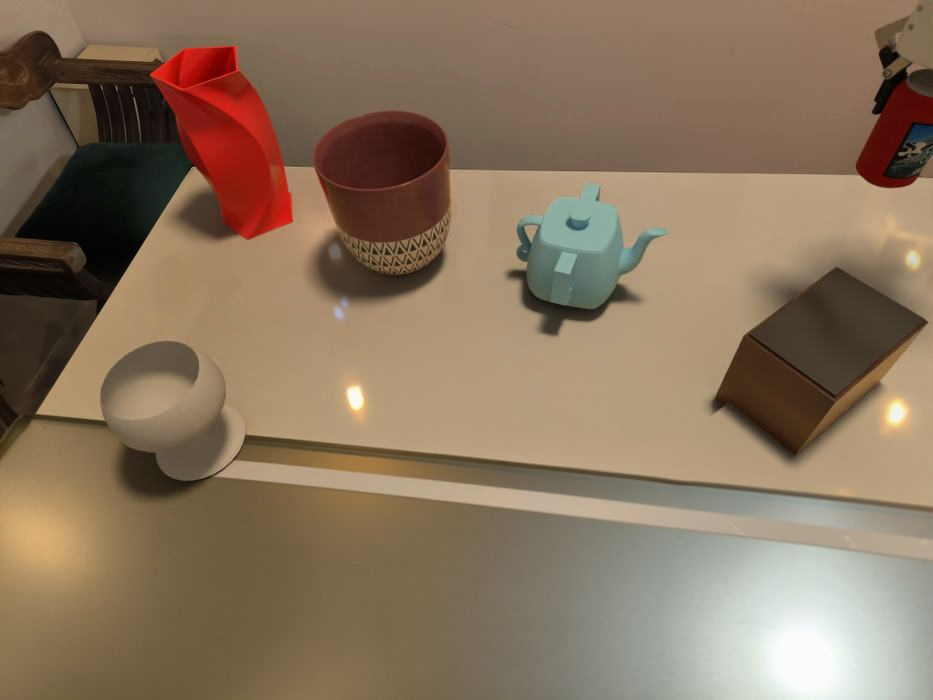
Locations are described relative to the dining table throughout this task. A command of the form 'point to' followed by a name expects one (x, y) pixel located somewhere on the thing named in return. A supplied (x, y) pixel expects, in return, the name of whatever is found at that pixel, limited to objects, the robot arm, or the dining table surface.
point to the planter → (388, 188)
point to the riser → (817, 357)
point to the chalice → (173, 409)
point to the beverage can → (901, 135)
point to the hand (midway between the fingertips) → (912, 122)
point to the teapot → (579, 250)
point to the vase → (228, 137)
